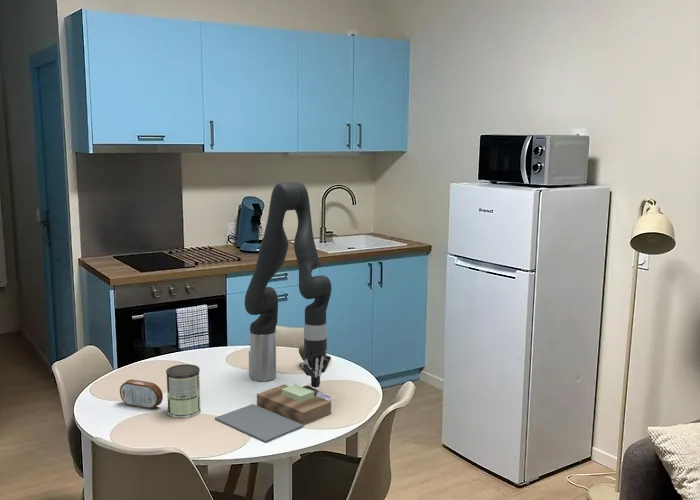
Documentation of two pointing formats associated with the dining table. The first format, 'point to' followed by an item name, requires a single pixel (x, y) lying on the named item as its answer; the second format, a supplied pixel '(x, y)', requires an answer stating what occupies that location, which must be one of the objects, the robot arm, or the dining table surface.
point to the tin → (141, 394)
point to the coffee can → (183, 390)
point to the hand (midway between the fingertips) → (315, 386)
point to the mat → (259, 423)
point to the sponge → (298, 393)
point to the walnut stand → (293, 406)
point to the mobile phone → (319, 393)
